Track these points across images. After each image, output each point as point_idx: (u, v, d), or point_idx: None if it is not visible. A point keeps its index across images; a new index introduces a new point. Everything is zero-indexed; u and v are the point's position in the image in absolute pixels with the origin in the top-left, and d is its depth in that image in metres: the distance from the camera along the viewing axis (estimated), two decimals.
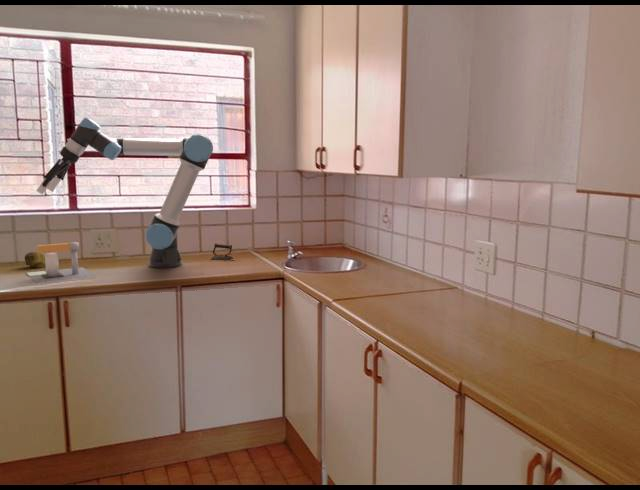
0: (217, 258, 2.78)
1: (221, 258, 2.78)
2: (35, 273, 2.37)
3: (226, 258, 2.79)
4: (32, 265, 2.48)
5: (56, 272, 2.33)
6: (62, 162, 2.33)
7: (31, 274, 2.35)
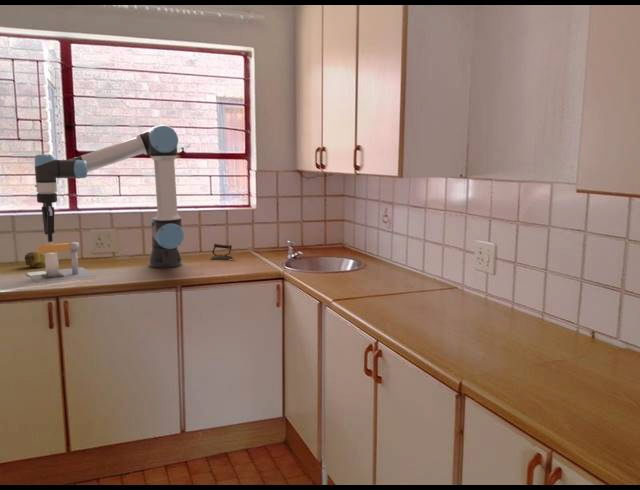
0: (217, 258, 2.78)
1: (221, 258, 2.79)
2: (35, 273, 2.37)
3: (226, 258, 2.79)
4: (32, 265, 2.49)
5: (56, 272, 2.33)
6: (52, 213, 2.26)
7: (31, 274, 2.35)
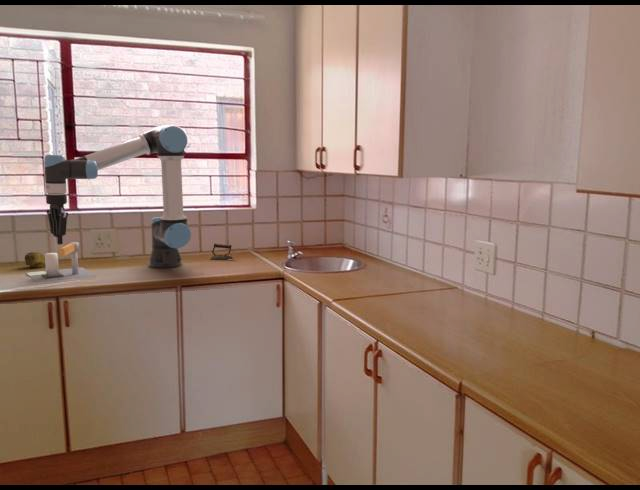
0: (217, 258, 2.79)
1: (221, 258, 2.79)
2: (35, 273, 2.37)
3: (226, 258, 2.79)
4: (32, 265, 2.49)
5: (56, 272, 2.33)
6: (66, 214, 2.21)
7: (31, 274, 2.35)
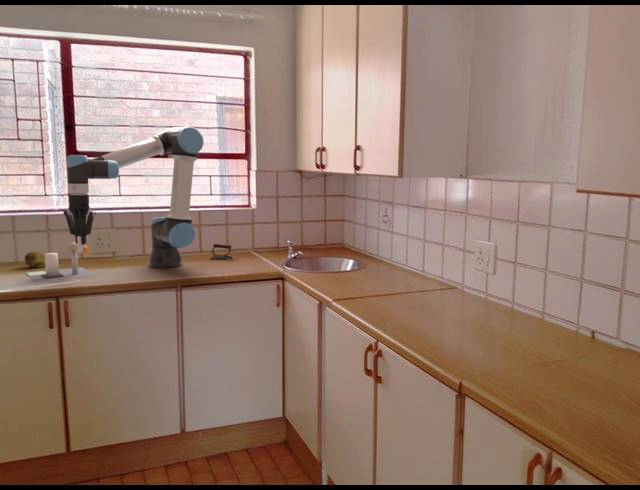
0: (216, 258, 2.79)
1: (220, 258, 2.79)
2: (35, 273, 2.37)
3: (225, 258, 2.79)
4: (32, 265, 2.49)
5: (56, 272, 2.33)
6: (94, 213, 2.25)
7: (31, 274, 2.35)
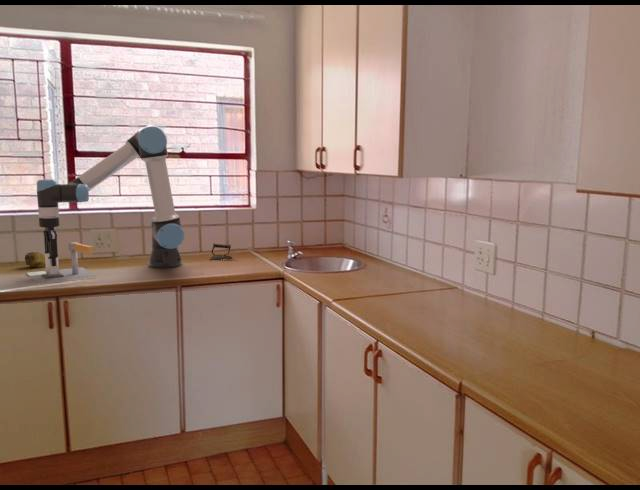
0: (216, 258, 2.79)
1: (220, 258, 2.79)
2: (35, 273, 2.37)
3: (225, 258, 2.80)
4: (32, 265, 2.49)
5: None
6: (55, 235, 2.27)
7: (31, 274, 2.35)
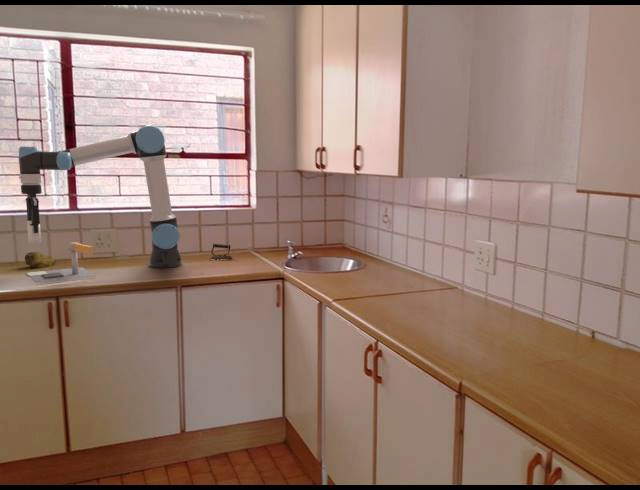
0: (216, 258, 2.79)
1: (220, 258, 2.79)
2: (35, 273, 2.37)
3: (225, 258, 2.80)
4: (32, 265, 2.49)
5: None
6: (37, 202, 2.28)
7: (31, 274, 2.35)
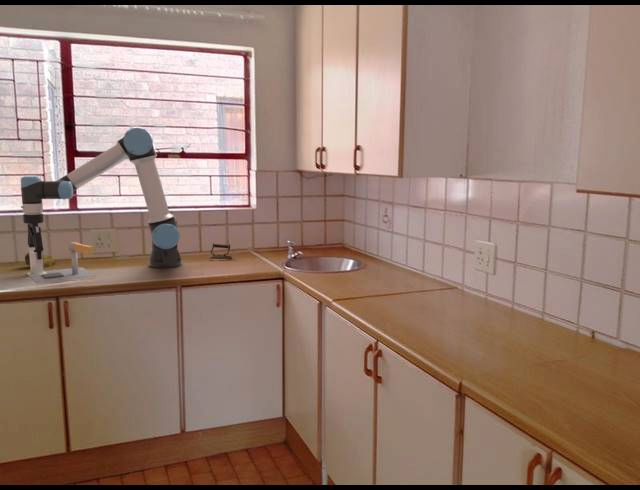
0: (216, 258, 2.79)
1: (220, 258, 2.79)
2: None
3: (225, 258, 2.80)
4: None
5: (40, 270, 2.37)
6: (39, 228, 2.29)
7: (31, 274, 2.35)
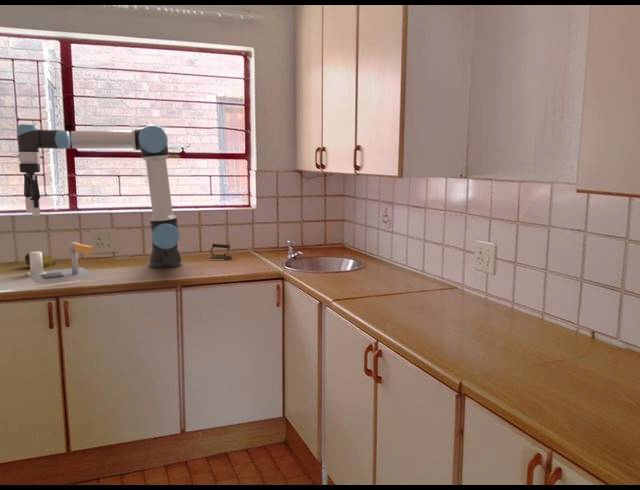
0: (216, 258, 2.79)
1: (220, 258, 2.79)
2: None
3: (225, 257, 2.80)
4: None
5: (40, 270, 2.37)
6: (35, 176, 2.26)
7: (31, 274, 2.35)
